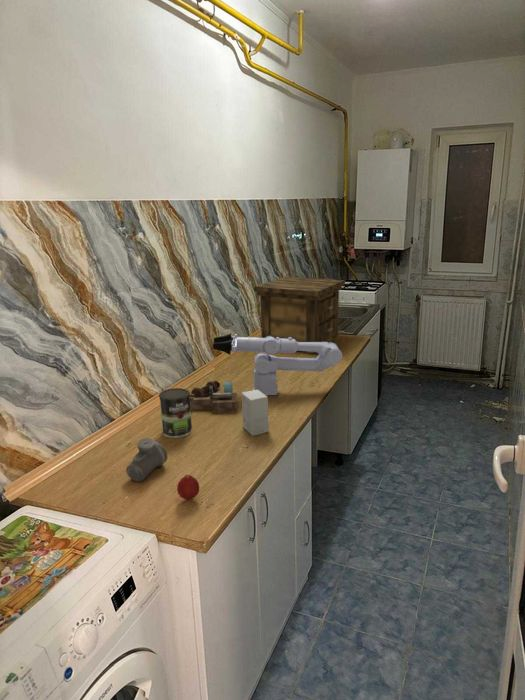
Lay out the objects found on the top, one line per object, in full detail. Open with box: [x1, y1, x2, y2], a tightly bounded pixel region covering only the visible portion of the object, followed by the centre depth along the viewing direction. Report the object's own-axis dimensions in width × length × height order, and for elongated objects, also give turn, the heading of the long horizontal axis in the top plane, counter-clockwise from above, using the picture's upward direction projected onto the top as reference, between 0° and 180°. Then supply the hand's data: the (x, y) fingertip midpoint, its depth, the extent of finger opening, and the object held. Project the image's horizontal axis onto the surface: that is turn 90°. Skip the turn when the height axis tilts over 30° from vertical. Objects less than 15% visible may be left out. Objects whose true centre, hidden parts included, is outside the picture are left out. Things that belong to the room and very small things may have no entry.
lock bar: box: [209, 386, 231, 399], centre depth 194 cm, size 8×3×4 cm, turn 92°
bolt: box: [190, 380, 221, 398], centre depth 208 cm, size 6×5×15 cm
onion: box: [176, 473, 200, 502], centre depth 136 cm, size 6×6×8 cm
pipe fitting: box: [125, 437, 168, 483], centre depth 150 cm, size 12×8×10 cm
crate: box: [253, 275, 346, 354], centre depth 269 cm, size 35×35×33 cm
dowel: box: [222, 381, 234, 393], centre depth 204 cm, size 4×4×6 cm
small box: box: [241, 389, 270, 437], centre depth 175 cm, size 8×6×13 cm
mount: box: [190, 392, 238, 414], centre depth 195 cm, size 18×9×5 cm, turn 92°
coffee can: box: [158, 387, 193, 439], centre depth 175 cm, size 10×10×14 cm
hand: (213, 343), depth 202 cm, fingers open, 7 cm apart
